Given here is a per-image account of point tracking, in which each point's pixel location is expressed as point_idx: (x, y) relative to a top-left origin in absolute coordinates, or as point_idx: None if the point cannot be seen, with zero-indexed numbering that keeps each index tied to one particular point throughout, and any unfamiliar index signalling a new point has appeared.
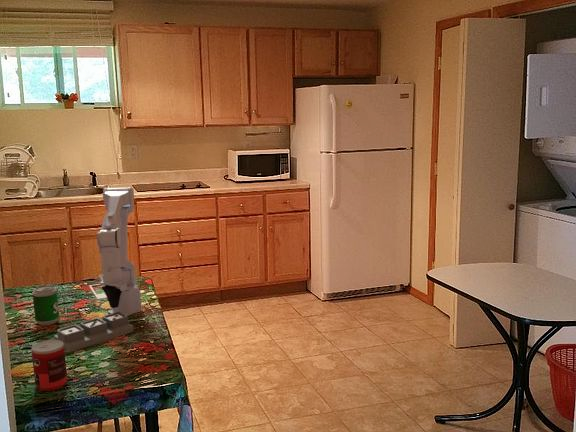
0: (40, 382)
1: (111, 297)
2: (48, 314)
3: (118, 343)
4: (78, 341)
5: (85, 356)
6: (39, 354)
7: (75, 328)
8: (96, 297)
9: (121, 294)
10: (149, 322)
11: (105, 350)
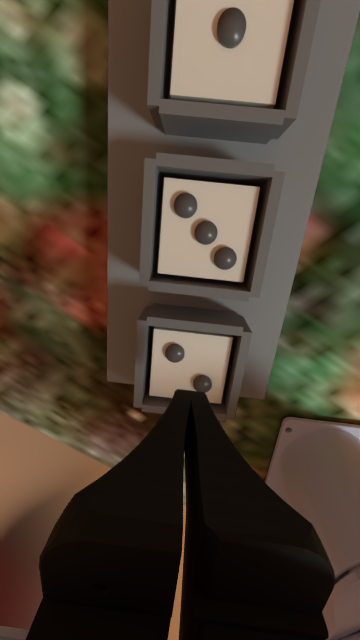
0: None
1: (135, 448)
2: None
3: (46, 254)
4: (131, 59)
5: (8, 34)
6: None
7: (244, 95)
8: None
9: (337, 546)
10: None
11: (12, 163)
